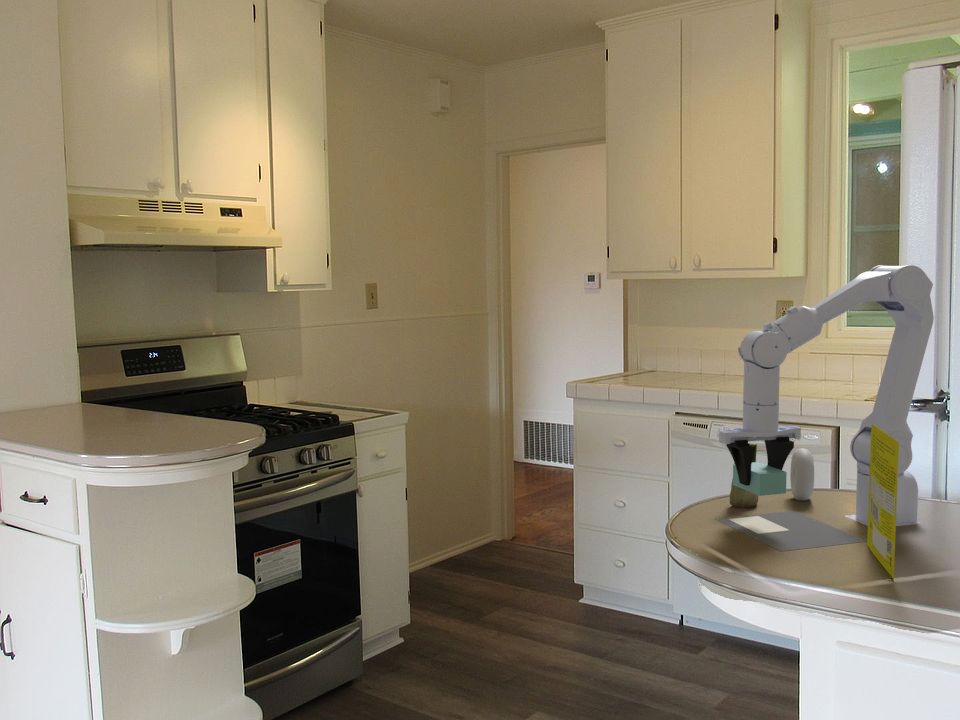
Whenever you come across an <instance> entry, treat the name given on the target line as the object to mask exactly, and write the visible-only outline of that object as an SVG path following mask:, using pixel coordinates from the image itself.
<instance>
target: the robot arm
mask: <svg viewBox="0 0 960 720" xmlns="http://www.w3.org/2000/svg"><path fill="white" fill-rule="evenodd" d="M933 285H934V284H933V282H932V281H931V279H930V277H928V275H927V273H925V271H924V270H923V269H922V268H921V267H919V266H917V265H913V264H907V265H884V264H880V265H876V266H873V267H872V268H871V269H870V270H869V271H868V270H867V271H864V272H862V273H860V274H858V275H857V276H856V277H855V278H854V279H852V280H851V281H849V282H848V283H847V284H845V285H843V286H842V287H840V288H839V289H837V290H836V291H834V292H833V293H832V294H830V295H828V296H826V297H825V298H824V299H822V300H821V301H819V302H818V303H816V304H814V305H813V306H812V307H808V306H805V305H800V306H798V307H797V306H795V305H794V306H793V305H792V306H791V307H789V308H788V309H786V312H787V313H786V314H785V315H783V316H781V317H780V318H778V319H776V320H775V321H773V322H766V323H764V324H763V325H762V327H763V328H762V331H761V330H753V331H750V332H749V333H747V334H746V335H745V336H744V337H743V339H742V340H741V343H740V346H738V348H737V351H738V355H739V357H740V359H742V362H743V389H742V390H743V392H742V394H743V396H742V398H743V399H742V400H743V401H742V402H743V403H742V405H743V406H742V426H741V427H737V428H731V429H725V430H723V429H722V430H719V431H718V443H721V444H725V446H726V447H727V449H728V451H729V454H730V455H731V457H732V459H733V462H735V465H736V469H737V473H738V477H739V482H740V483H741V484H743V485H746V486H748V485H750V480H751V465H752V459H753V455H754V451H755V449H756V448H755V447H753V446H750V444H751V443H749V442H757V441H758V442H759V441H760V442H761V441H763V442H764V445H765V450H766V456H767V457H766V458H767V465H768V466H771V467H774V468H777V469H779V470H782V471H783V469H784V466H785V463H786V461H787V459H788V457H789V455H790V454H791V453H792V450H793V449H794V448H795V441H793V440H790V439H794V440H795V439H796V440H799V439H801V436H802V433H801V432H802V428H801V427H800V426H796V425H779V415H780V414H779V413H780V412H779V411H780V409H779V408H780V367H781V365H782V364H783V363H784V362H785V360H786V359H787V355H788V354H789V353H791V352H793V351H795V350H797V349H798V348H800V347H801V346H803V345H805V344H806V343H808V342H810V341H812V340H813V339H815V338H817V337H818V336H820V335H821V332H822V329H823V326H824V324H826V323H828V322H829V321H831V320H833V319H835V318H837V317H839V316H841V315H842V314H845V313H847V312H848V311H851V309H854V308H857V306H860V305H861V304H864V303H865V302H874V303H876V304H878V305H879V306H880V307H881V308H882V309H884V310H886V312H887V314H889V316H890V318H891V319H892V320H893V321H894V323H895V327H894V330H893V331H894V332H893V334H892V338H891V343H890V347H889V350H888V353H887V356H886V361H885V365H884V367H883V372H882V376H881V379H880V382H879V386H878V390H877V394H876V396H875V397H876V398H875V401H874V405H873V409H872V412H871V413H870V414H869V415H867V416H866V417H865V418H863V419H862V421H861V424H860V427H859V429H858V431H857V432H856V433H855V434H854V436H853V437H852V439H851V441H850V445H849V449H850V454H851V456H852V458H853V459H854V460H855V461H856V491H855V492H856V493H855V494H856V498H855V514H849V515H848V514H847V515H844V517H845V518H847V519H849V520H853V521H855V522H858V523H860V524H863V525H864V526H867V527H868V506H869V476H870V446H871V424H873V425H875V426H877V427H878V428H880V429H881V430H882V431H884V432H885V433H887V434H888V435H890V436H891V437H892V438H894V439H895V440H896V441H897V442H899V455H898V482H897V509H896V527H901V526H909V525H910V526H911V525H919V524H920V525H921V522H919V521H918V505H919V503H918V502H919V486H918V482H917V480H916V477H915V476H914V475H913V474H912V473H911V472H909V471H907V470H908V469H909V467H910V466H911V464H912V461H913V449H912V440H913V437H914V434H913V433H912V430H911V429H910V427H909V424H908V421H907V420H908V417H909V416H908V415H909V412H910V409H911V406H912V405H911V404H912V401H913V398H914V394H915V390H916V387H917V382H918V379H919V377H920V376H919V375H920V372H921V369H922V364H923V360H924V357H925V354H926V350H927V347H928V342H929V338H930V336H931V333H932V327H933V326H934V324H933V323H934V318H935V317H934V311H933V305H932V299H931V294H932V293H931V292H932V289H933ZM756 450H757V449H756Z"/></svg>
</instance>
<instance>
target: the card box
mask: <svg viewBox="0 0 960 720" xmlns="http://www.w3.org/2000/svg"><path fill="white" fill-rule="evenodd" d="M732 479H733V485H735V486H737V487H739V488H742V489H744V490H747V491H749V492H752V493H754V494H756V495H759V496H762V497H763V496H773V495H774V496H775V495H782V494H783V495H784V494H785V495H786V494H787V471H785V470H783V469H782V470H779V469H777V468H774V467H771V466H768V464H765V463H762V462H761V461H760V462H757V461H756V462H754V463H752V465H751V480H750V485H748V486H746V485H743V484H741V483H740V482H739V477H738V473H737V469H736V465H735V464H734V463H733V464H732ZM759 496H758V497H759Z"/></svg>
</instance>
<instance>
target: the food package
mask: <svg viewBox="0 0 960 720" xmlns="http://www.w3.org/2000/svg"><path fill="white" fill-rule="evenodd" d="M898 455H899V442H897V441H896V440H895V439H894V438H892V437H891V436H890V435H888V434H887V433H885V432H884V431H882V430H881V429H880V428H878V427H877V426H875V425H873V424H871V446H870V476H869V506H868V526H867V533H866V534H867V537H866V538H867V540H866V541H867V548H868V549H869V550H870V551H871V552H872V554H873V556H874V557H875V558H876V559H877V560H878V562H879V563H880V564H881V565H882V567H883V568H884V570H885V571H886V572H887V573H888V574H889V575H890V578H889V579H890V580H891V582H892V583H893V584H894V583H895V556H896V535H897V534H896V531H897V530H896V529H897V526H896V509H897V482H898Z"/></svg>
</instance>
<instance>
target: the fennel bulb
mask: <svg viewBox="0 0 960 720" xmlns="http://www.w3.org/2000/svg"><path fill="white" fill-rule="evenodd" d="M750 446H753V447H755V448H756V449H755V451H754V455H753V459H752V463H754V462H757V449H758V448H757V447H758V444H757V443H750ZM733 462H734V461H733ZM733 464H735V462H734V463H733ZM730 488H731V489H730V492H729V504H730V505H731V507H733V508H734V507H735V508H740V509H741V508H742V509H743V508H744V509H747V508H748V509H749V508H755V507H756V506H757V505H758V502H759V495H756V494H754V493H752V492H749V491H747V490H744V489H742V488H739V487H737V486H735V485H733V478H732V480H731V485H730Z"/></svg>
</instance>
